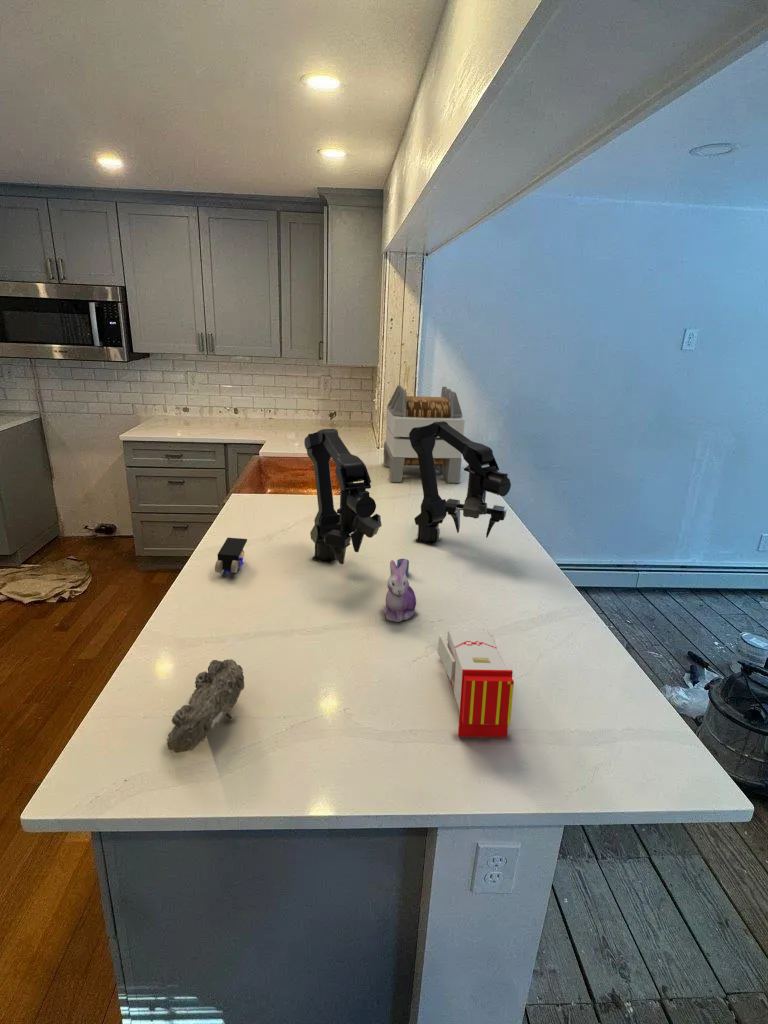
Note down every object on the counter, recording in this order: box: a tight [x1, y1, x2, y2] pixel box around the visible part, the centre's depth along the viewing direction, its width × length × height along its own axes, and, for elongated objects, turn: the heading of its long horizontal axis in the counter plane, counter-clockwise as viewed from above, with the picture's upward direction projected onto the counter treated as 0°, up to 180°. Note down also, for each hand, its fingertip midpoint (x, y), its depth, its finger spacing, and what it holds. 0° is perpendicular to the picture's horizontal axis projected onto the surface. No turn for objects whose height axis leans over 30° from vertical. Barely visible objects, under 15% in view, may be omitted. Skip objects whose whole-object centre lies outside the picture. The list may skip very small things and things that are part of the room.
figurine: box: [384, 558, 417, 623], centre depth 145 cm, size 9×10×15 cm
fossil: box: [166, 658, 245, 754], centre depth 106 cm, size 22×10×15 cm
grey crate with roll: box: [383, 384, 465, 484], centre depth 268 cm, size 34×33×41 cm
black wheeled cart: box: [214, 537, 248, 578], centre depth 166 cm, size 7×8×15 cm
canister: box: [396, 558, 410, 578], centre depth 169 cm, size 4×4×4 cm
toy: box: [437, 628, 515, 738], centre depth 117 cm, size 12×13×30 cm
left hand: (349, 557), depth 160 cm, fingers open, 9 cm apart
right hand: (472, 534), depth 179 cm, fingers open, 9 cm apart
